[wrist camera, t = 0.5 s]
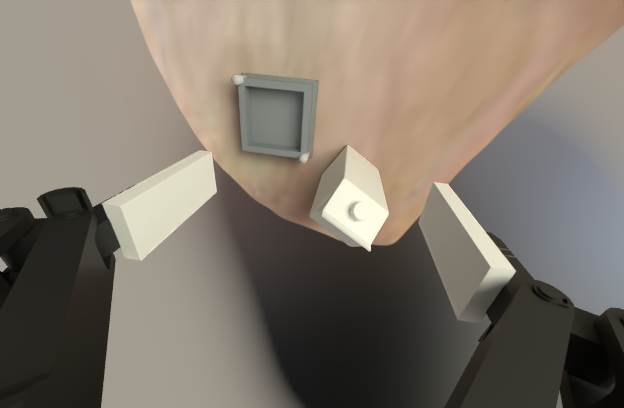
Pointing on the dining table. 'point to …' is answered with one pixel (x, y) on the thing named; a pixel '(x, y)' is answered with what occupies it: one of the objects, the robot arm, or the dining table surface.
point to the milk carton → (350, 200)
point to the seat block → (277, 114)
